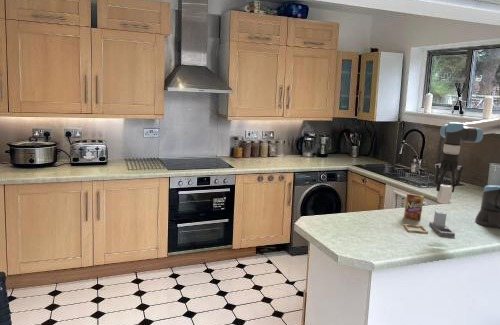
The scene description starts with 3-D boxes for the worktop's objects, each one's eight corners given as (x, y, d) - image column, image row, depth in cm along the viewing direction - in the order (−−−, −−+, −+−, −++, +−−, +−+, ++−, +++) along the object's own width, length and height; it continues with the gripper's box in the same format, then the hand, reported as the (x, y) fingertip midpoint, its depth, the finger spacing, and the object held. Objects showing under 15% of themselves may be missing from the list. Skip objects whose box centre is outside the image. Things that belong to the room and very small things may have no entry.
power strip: (425, 222, 238) (425, 216, 237) (437, 224, 237) (438, 217, 236) (439, 237, 213) (440, 231, 212) (454, 239, 212) (455, 232, 212)
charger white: (446, 202, 217) (448, 185, 215) (449, 204, 212) (452, 186, 211) (437, 201, 217) (439, 184, 215) (440, 203, 213) (442, 186, 211)
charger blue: (441, 227, 228) (443, 211, 226) (444, 229, 223) (446, 213, 222) (432, 226, 228) (435, 210, 227) (435, 229, 224) (437, 212, 222)
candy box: (403, 219, 241) (406, 194, 239) (404, 217, 245) (407, 192, 242) (419, 222, 237) (423, 196, 234) (420, 220, 241) (424, 195, 238)
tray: (421, 229, 225) (422, 225, 225) (427, 235, 215) (428, 231, 215) (402, 227, 226) (403, 223, 226) (407, 233, 216) (408, 229, 216)
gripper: (465, 153, 213) (458, 197, 217) (430, 150, 214) (424, 194, 219) (472, 155, 206) (464, 201, 210) (435, 152, 207) (428, 198, 211)
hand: (443, 197), depth 214 cm, fingers closed on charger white, 4 cm apart
